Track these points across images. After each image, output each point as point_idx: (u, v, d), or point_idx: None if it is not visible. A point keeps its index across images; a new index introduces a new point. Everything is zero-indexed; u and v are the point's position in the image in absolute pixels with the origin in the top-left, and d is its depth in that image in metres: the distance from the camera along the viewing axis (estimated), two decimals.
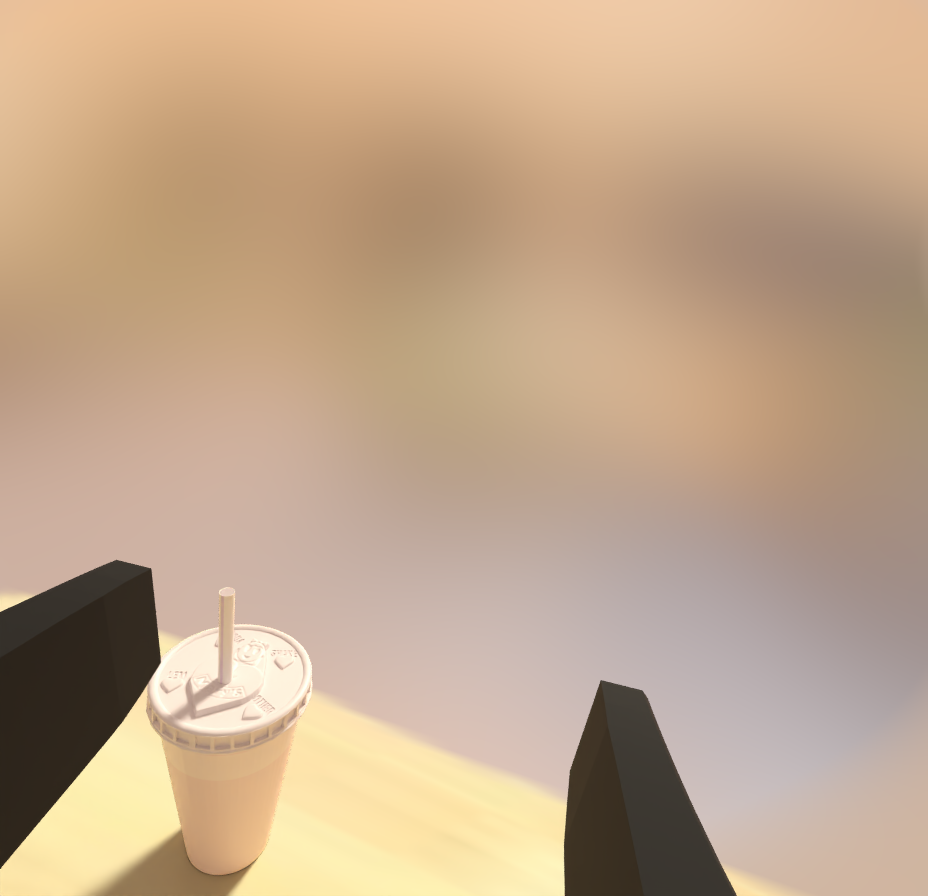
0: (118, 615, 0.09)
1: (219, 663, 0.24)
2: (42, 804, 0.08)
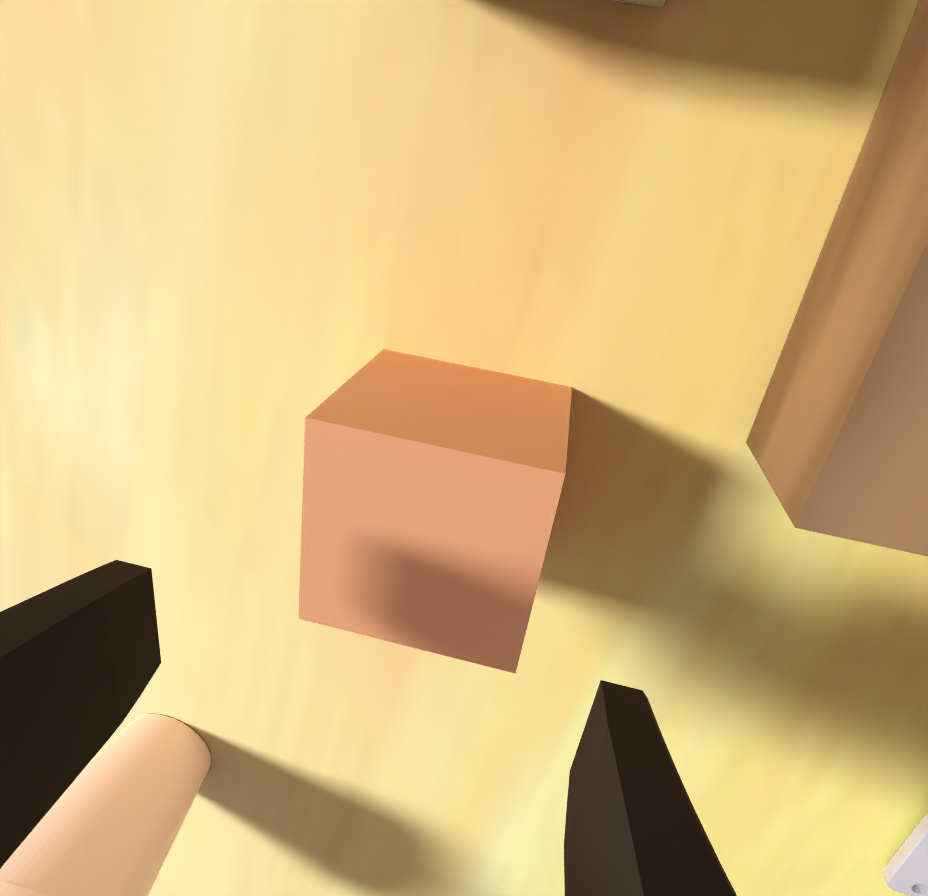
0: (118, 615, 0.09)
1: None
2: (42, 804, 0.08)
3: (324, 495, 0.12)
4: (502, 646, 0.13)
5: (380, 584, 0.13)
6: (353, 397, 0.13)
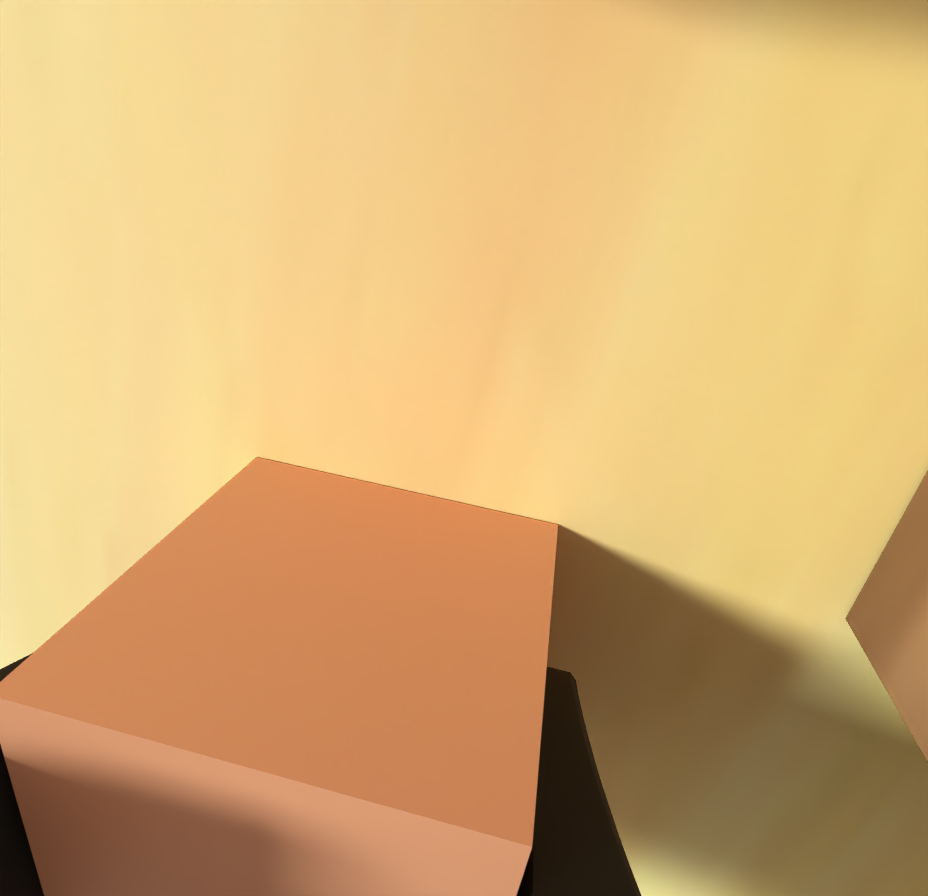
0: None
1: None
2: None
3: (58, 819, 0.06)
4: None
5: None
6: (135, 605, 0.07)
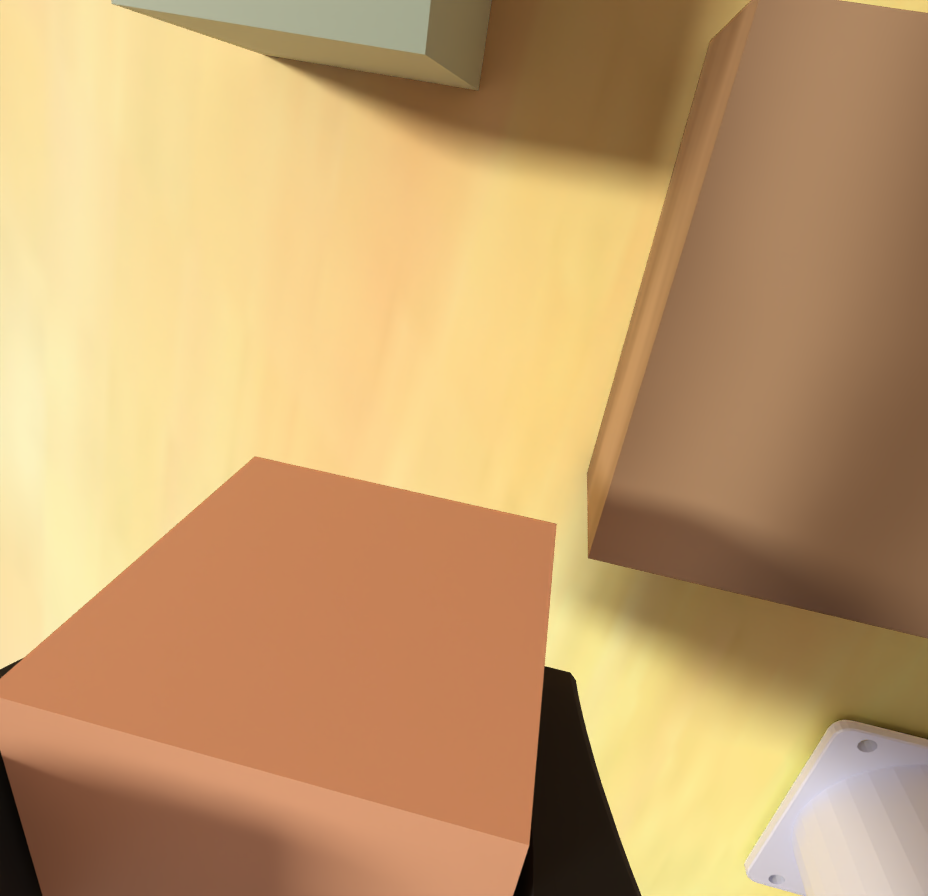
0: None
1: None
2: None
3: (56, 819, 0.06)
4: None
5: None
6: (133, 604, 0.07)
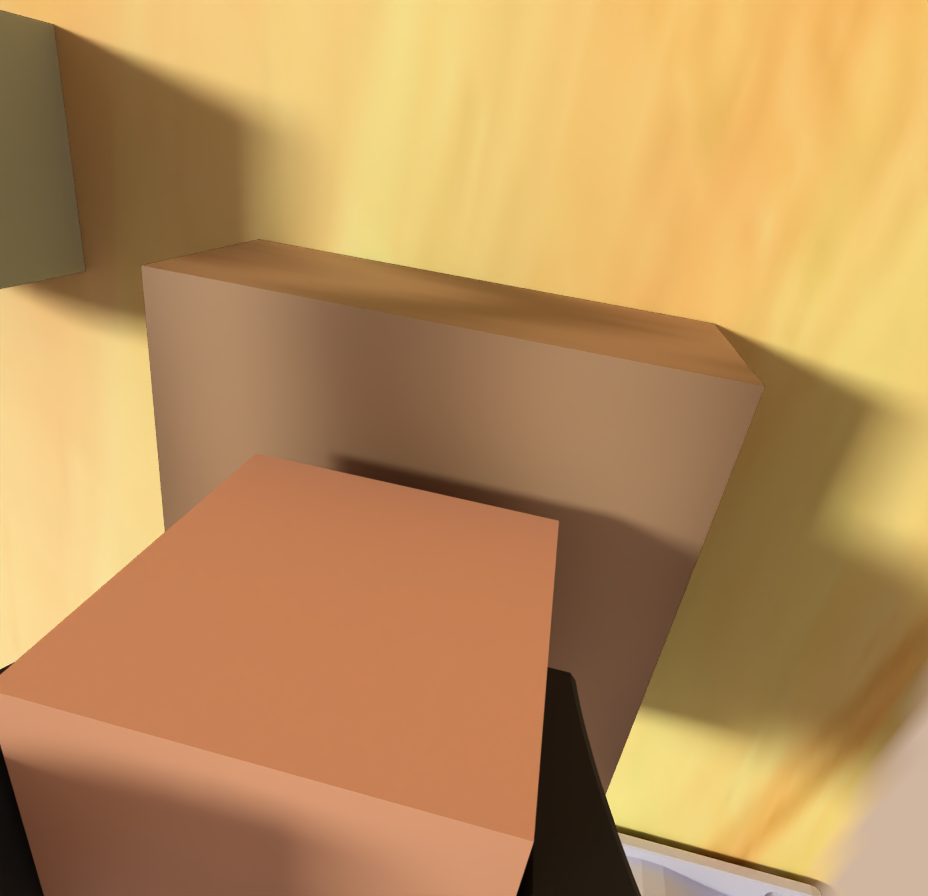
0: None
1: None
2: None
3: (57, 814, 0.06)
4: None
5: None
6: (134, 599, 0.07)
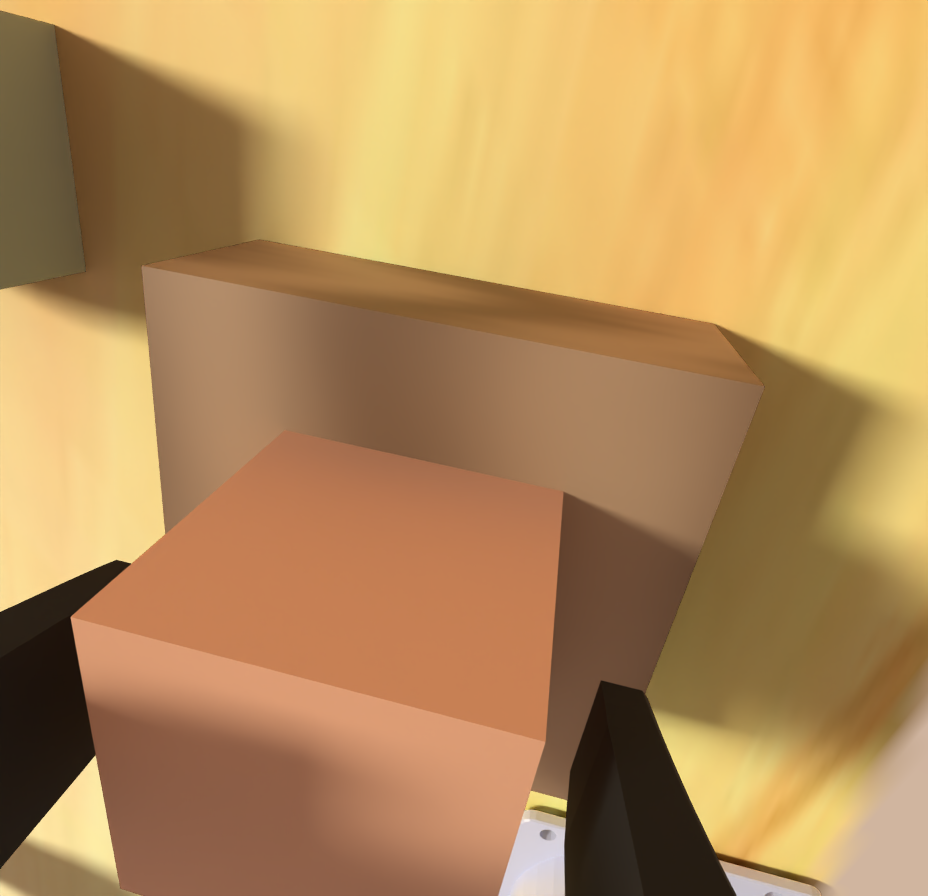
0: None
1: None
2: (42, 804, 0.08)
3: (125, 734, 0.07)
4: None
5: (239, 862, 0.08)
6: (189, 550, 0.07)
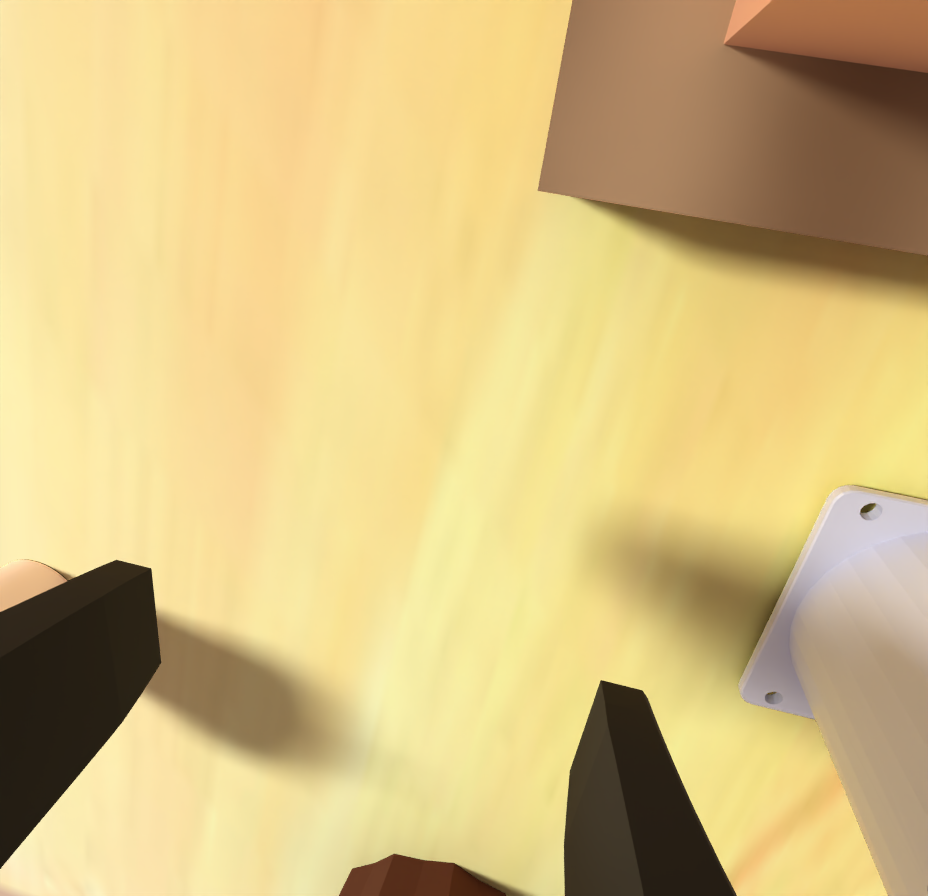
0: (118, 615, 0.09)
1: None
2: (42, 804, 0.08)
3: None
4: None
5: None
6: None
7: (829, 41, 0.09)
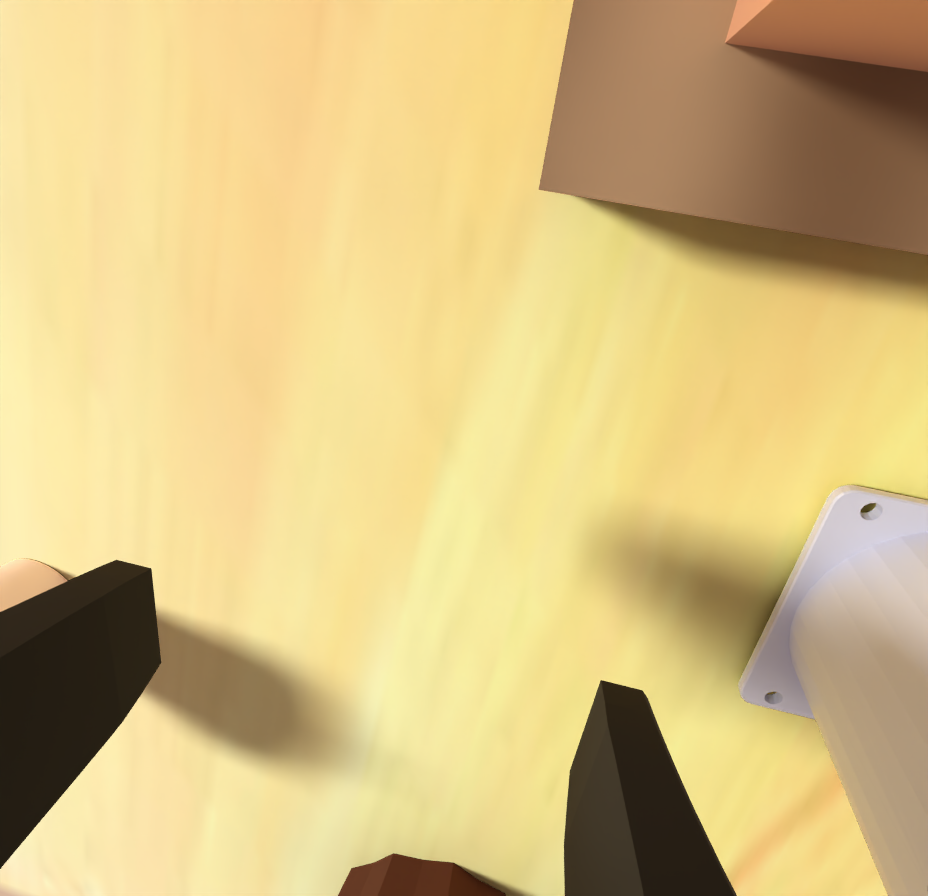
0: (118, 615, 0.09)
1: None
2: (42, 804, 0.08)
3: None
4: None
5: None
6: None
7: (831, 40, 0.08)
